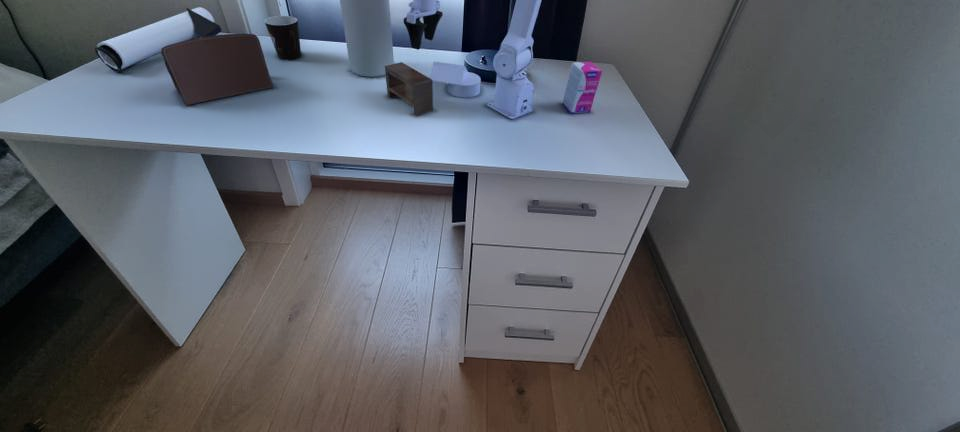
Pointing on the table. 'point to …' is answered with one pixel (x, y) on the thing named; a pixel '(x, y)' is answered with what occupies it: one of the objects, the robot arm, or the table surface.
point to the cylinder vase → (368, 36)
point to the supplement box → (581, 87)
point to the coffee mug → (284, 36)
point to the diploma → (155, 38)
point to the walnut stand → (410, 87)
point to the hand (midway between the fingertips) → (422, 43)
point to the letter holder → (216, 67)
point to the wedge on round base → (456, 79)
